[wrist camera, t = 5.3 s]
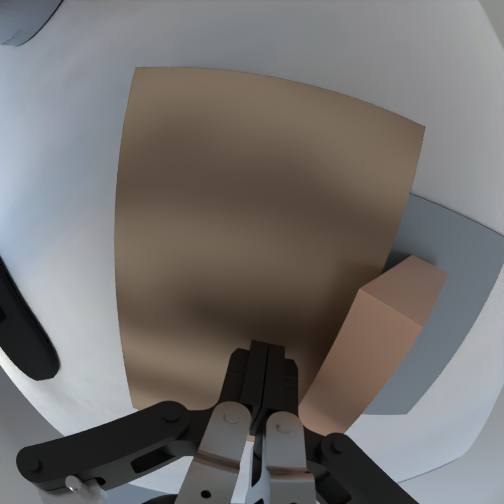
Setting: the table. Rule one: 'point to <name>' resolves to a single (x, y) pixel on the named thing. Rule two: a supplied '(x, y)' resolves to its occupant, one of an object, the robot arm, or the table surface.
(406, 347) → the tile
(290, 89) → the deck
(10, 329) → the desk fan
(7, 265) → the table surface
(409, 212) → the mat
